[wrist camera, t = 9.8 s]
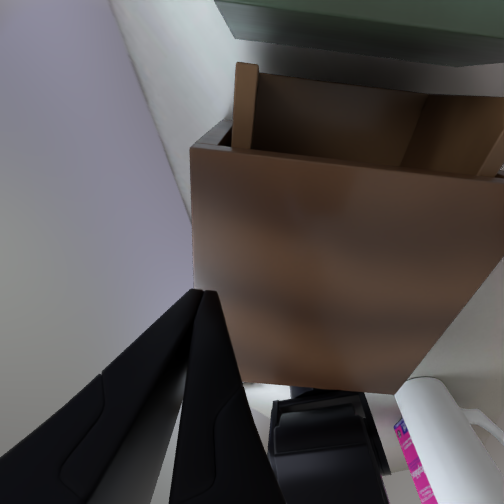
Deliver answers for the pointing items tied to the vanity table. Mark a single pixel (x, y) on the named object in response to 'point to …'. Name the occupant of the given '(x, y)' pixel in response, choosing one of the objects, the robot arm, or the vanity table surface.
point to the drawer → (365, 97)
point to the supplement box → (414, 464)
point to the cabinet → (337, 260)
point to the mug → (450, 444)
